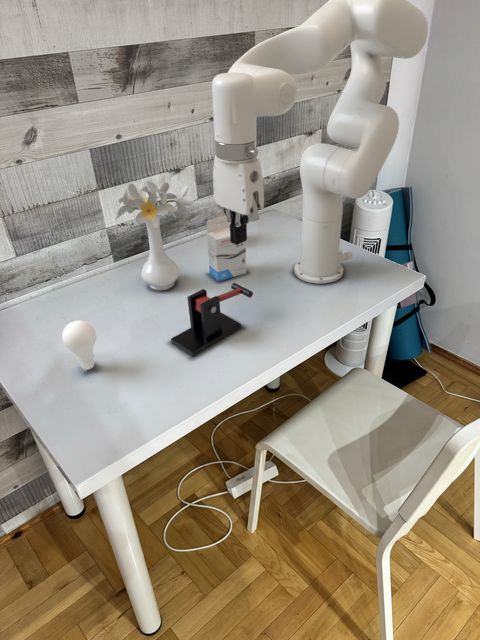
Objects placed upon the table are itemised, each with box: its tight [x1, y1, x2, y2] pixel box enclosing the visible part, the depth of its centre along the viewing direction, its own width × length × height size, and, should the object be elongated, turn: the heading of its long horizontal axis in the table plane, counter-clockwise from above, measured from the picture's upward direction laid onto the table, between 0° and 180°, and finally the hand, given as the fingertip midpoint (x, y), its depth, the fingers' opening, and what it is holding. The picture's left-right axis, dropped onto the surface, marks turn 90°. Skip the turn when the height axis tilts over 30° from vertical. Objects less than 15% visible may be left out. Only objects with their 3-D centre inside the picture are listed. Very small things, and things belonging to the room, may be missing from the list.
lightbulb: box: [61, 320, 97, 371], centre depth 98 cm, size 6×6×11 cm
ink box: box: [206, 216, 247, 282], centre depth 126 cm, size 8×5×15 cm, turn 123°
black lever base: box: [170, 288, 242, 358], centre depth 106 cm, size 14×7×10 cm, turn 136°
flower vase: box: [114, 180, 194, 291], centre depth 120 cm, size 13×18×25 cm
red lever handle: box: [195, 282, 254, 312], centre depth 108 cm, size 13×6×2 cm, turn 136°
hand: (238, 241), depth 104 cm, fingers closed
